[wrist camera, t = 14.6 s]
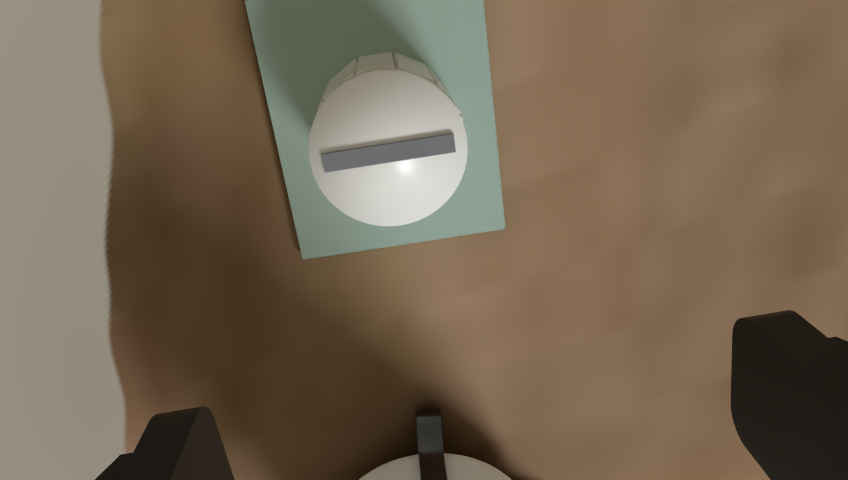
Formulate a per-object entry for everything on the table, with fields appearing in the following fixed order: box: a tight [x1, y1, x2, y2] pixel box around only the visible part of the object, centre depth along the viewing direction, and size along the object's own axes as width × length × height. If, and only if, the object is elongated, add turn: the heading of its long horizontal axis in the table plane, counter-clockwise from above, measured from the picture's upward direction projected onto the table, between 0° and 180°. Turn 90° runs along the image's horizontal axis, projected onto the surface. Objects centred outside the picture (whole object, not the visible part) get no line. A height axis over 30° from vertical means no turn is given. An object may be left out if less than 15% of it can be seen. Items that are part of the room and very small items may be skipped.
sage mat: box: [245, 0, 505, 260], centre depth 31 cm, size 12×10×1 cm
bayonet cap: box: [308, 52, 468, 226], centre depth 28 cm, size 6×6×6 cm
